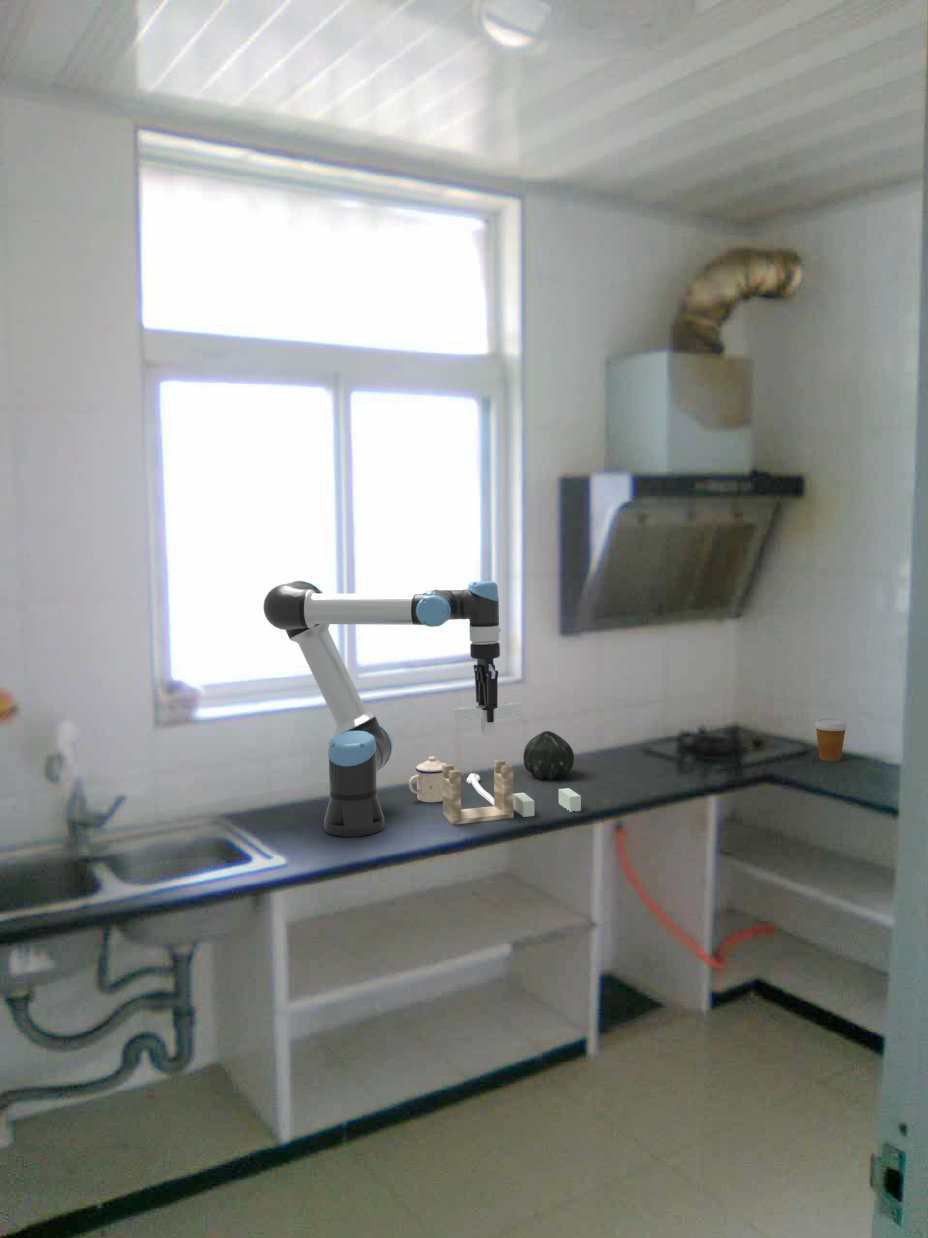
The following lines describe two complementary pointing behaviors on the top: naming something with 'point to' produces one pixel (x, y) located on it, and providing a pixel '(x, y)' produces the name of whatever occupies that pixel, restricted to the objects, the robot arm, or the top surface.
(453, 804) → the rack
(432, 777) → the teacup with lid
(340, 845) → the top surface
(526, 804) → the rest
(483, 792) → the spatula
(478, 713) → the rail
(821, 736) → the disposable coffee cup
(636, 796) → the top surface
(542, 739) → the squash
